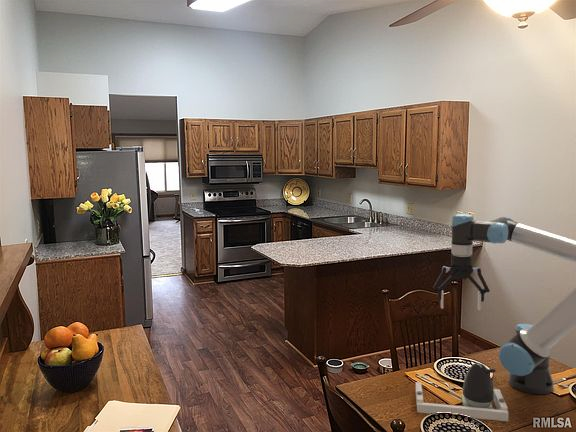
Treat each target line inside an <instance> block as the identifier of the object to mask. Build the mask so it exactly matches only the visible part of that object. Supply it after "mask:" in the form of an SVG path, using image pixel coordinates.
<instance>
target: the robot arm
mask: <svg viewBox="0 0 576 432" xmlns="http://www.w3.org/2000/svg"><path fill="white" fill-rule="evenodd" d="M451 219H452V221H451V249H450V250H451V253H450V254H451V255H450V257H451V258H450V260H451V261H450V266H449V267H448V266H445V265H442V269H441V273H440V274H439V276H438V277H437V279H436V281H435V283H434V284H433V286H432V288H433V290H434V291H437V298H438V300H439V301H440V309H444V295H445V294H444V290H445V288H447V286H448V285H449V284H450V283H451V282H452V281H453V280H454V279H458V280H467V279H468V280H470V282H471V284H473V285H474V286H475V288H477V290H478V292H477V310H478V311H481V310H482V302H483V303H484V301H485V294H486V293H490V292H491V291H490V288H489V286H488V284H487V281H485V279H484V276H483V274H482V269H481V267H480V266H477V267H473V256H472V255H473V242H482V243H491V244H504V243H506V242H507V241H508V242H513V243H514V244H518V245H521V246H524V247H527V248H530V249H534V250H536V251H539V252H542V253H545V254H547V255H551V256H553V257H557V258H560V259H563V260H565V261H569V262H572V263H574V264H576V239H573V238H569V237H566V236H563V235H559V234H557V233H553V232H550V231H548V230H547V231H546V230H544V229H541V228H537V227H533V226H530V225H526V224H523V223H520V222H518V221H515V220H514V219H513V218H510V217H505V216H503V217H498V218H495V219H493V220H490V221H486V220H485V221H483V220H482V221H481V220H474V216H473V215H472V214H469V213H457V214H454V215H453V216H452V217H451ZM448 272H450V273H451V274H449V276H447V278H446V279H445V280H444V281H443V279H444V277H445V276H446V273H448ZM473 272H474V273H475V274H476V275H477V276H478V279H479V281H480V282H481V284H482V286H483V288H482V287H481V285H480V284H479V283H478V282H477V281H476V279H474V277H473V276H472V274H473ZM442 281H443V282H442ZM575 328H576V286H575V287H574V288H573V289H571V290H570V291H569V292H568V293H567V294H566V295H565V296H564V297H562V299H560V300H559V301H558V302H557V303H556V304H555V305H554V306H553V307H552V308H550V309H549V310H548V311H547V312H546V313H545V314H544V315H543V316H541V318H540V319H538V320H537V321H536V322H535V323H533V324H530V323H518V324H517V325H516V326H515V329H514V331H515V335H513V336H512V338H510V339H509V340H508V341H507V342H506V343H504V344H502V345H501V347H500V349H499V351H498V359H499V362H500V364H501V366H502V367H503V368H504V369H505V371H507V372H508V383H509V384H510V386H511V387H513V388H515V389H517V390H519V391H521V392H523V393H527V394H533V395H535V394H536V395H547V394H550V393H552V392H553V391H554V380H553V377H552V373H551V371H550V358H551V357H550V356H551V355H550V354H551V349H552V347H553V346H555V345H556V344H558V342H559V341H561V340H562V339H564V337H565V336H567V335H568V334H569V333H571V331H572V330H574V329H575Z"/></svg>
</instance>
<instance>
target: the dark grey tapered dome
mask: <svg viewBox="0 0 576 432" xmlns="http://www.w3.org/2000/svg"><path fill="white" fill-rule="evenodd" d="M493 373H496V369H495V368H489V369H488V368H487V366H485V365H484V364H483V363H480V362H477V363H476V362H475V363H474V364H472V365H470V367H469V368H468V371H467V373H466V375H465V378H464V381H463V384H462V396H464V398H465V400H466V402H467V403H468V404H469V405H470V406H472V407H475V408H487V407H489V406H490V405H492V402H494V400H493V399H494V389H495V388H494V384H493V380H492V377H491V375H490V374H493Z"/></svg>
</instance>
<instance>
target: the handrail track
mask: <svg viewBox="0 0 576 432" xmlns="http://www.w3.org/2000/svg"><path fill="white" fill-rule="evenodd" d="M493 389H494V399H493V402H494V405H495V409H494V408H493V406H492V404H491V405H490V406H489V407H487V408H475V407H472V406H470V405H469V404H468V403H467V402H466V400H465V398H464V395H461V396H460V399H461V398H462V399H461V402H462V405H463V406H461V405H452V404H445V403H444V404H442V403H432V402H431V403H430V402H424V396H423V386H422V382H416V381H415V401H416V412H417V414H418V413H420V414H428V415H429V414H430V415H432V414H431V413H437V412H451V413H458V414H463V415H467V416H470V417H473V418H472V419H479V420H488V421H489V420H492V421H498V422H499V421H500V422H509V414H510V413H509V411H508V409H509V408H508V406H507V403H506V402H505V401H506V400H505V399H504V397H503V394H502V391H501V390H500V389H499V388H493Z"/></svg>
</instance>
